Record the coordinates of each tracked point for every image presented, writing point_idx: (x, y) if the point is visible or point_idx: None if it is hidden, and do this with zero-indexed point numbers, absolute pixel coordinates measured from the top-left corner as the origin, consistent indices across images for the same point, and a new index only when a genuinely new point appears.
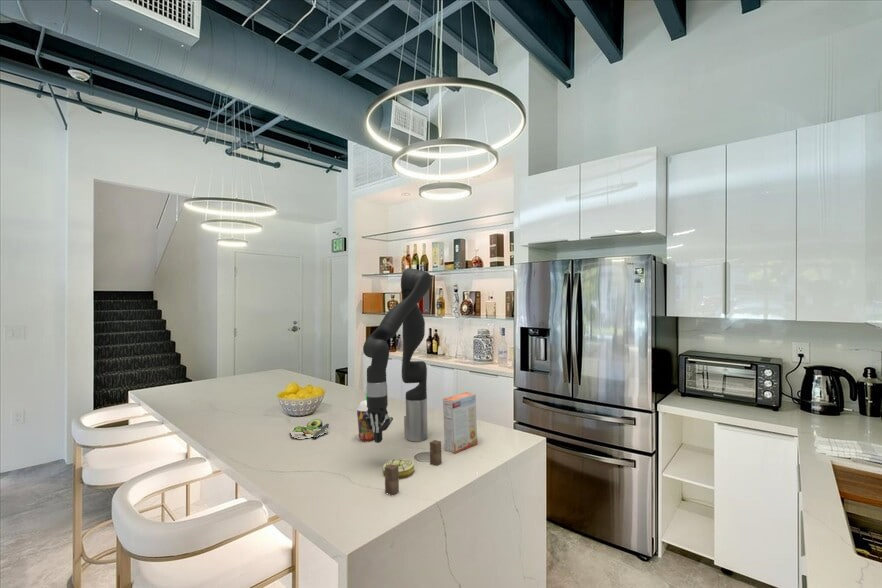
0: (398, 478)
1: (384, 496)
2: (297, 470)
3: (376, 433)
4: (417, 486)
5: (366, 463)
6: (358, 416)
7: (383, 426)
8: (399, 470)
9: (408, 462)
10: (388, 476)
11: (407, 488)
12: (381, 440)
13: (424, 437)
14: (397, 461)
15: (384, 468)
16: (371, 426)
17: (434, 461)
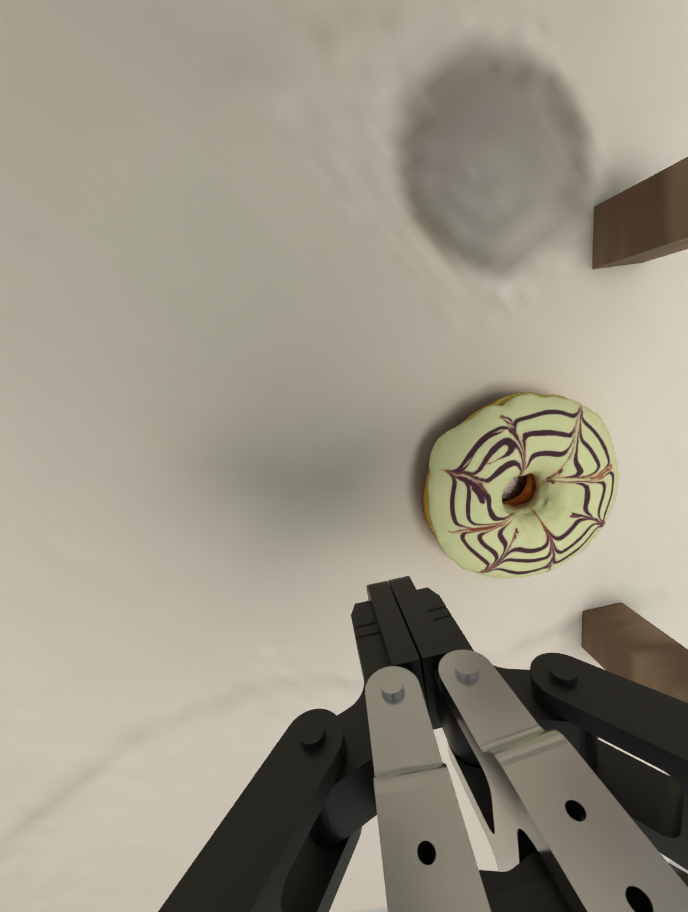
0: (682, 646)
1: (593, 661)
2: (23, 815)
3: (439, 720)
4: (666, 519)
5: (244, 523)
6: None
7: (669, 824)
8: (586, 546)
9: (590, 454)
10: None
11: (637, 560)
12: (428, 594)
13: None
14: (505, 479)
15: (482, 573)
16: (349, 836)
17: (650, 257)
